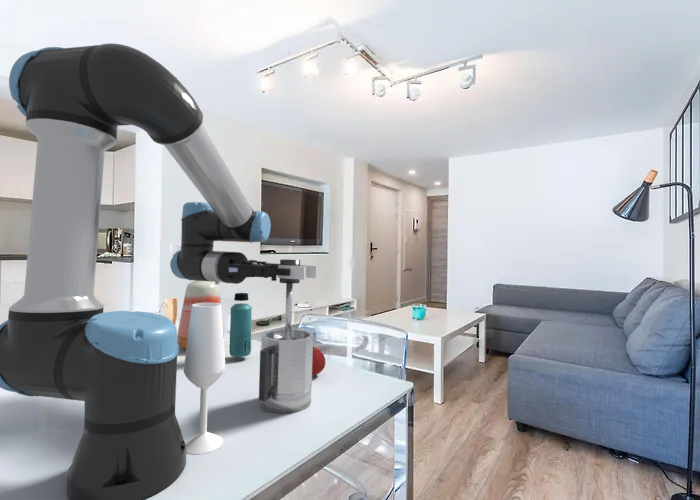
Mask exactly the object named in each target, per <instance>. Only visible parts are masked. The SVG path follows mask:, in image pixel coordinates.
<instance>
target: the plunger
mask: <svg viewBox="0 0 700 500" xmlns="http://www.w3.org/2000/svg"><path fill="white" fill-rule="evenodd" d="M279 264H280V265H286V266H300V265H301V260H300V259H287V258H286V259H285V258H284V259H279ZM300 280H301V279H287V278H279V283H280V284H286V286H285V287H286V288H285V313H284V314H285V318H284V329H285V340H291V329H292V323H293V322H292V321H293V293H294V292H293V291H294V290H293V287H294V284H300V282H301V281H300Z"/></svg>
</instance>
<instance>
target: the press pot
mask: <svg viewBox="0 0 700 500" xmlns="http://www.w3.org/2000/svg"><path fill="white" fill-rule="evenodd" d="M260 345H261V349H260V351H259V352H260V353H259V377H258V378H259V383H258V401H259V402H260V403H259V404H260V407H261V408H262V409H263V410H265V411H266V412H270V413H274V414H293V413H298V412H301V411H303V410H306V409H307V408H309V407H310V405H311V404H312V383H313V382H312V381H313V375H312V358H313V347H314V333H313V332H311V331H308V330H304V329H297V328H295V329H294V328H291V340H285V328H282V329H273V330H269V331H266V332H263V333H262V335H261V344H260Z"/></svg>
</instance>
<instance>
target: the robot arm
mask: <svg viewBox="0 0 700 500" xmlns="http://www.w3.org/2000/svg"><path fill="white" fill-rule="evenodd" d="M10 69H11V70H10V72H9V77H8V88H9V92H10V96H11V98H12V100H13V101H15V102H16V103H17V105H16V107H17V109H18V110H19V112H20V113H21V114H22V115H23V116H24V117H25V127H26V128H27V130H29V131H30V132H31V133H32V135H34V136H35V138H36V139H37V144H36V153H35V154H36V155H35V167H34V179H33V190H32V199H31V200H32V201H31V212H30V223H29V235H28V236H29V237H28V246H27V258H26V267H25V269H26V270H25V278H24V279H25V281H24V291H23V296H22V297H21V298H20V299H18V300H17V301H16V302H14V303H13V304H12V305H10V306H9V309H8V318H7V319H6V320H5V321H3V322H2V323H1V324H0V388H1V389H2V390H5V391H7V392H8V391H9V392H13V393H17V394H18V395H22V396H25V397H44V398H45V397H46V398H52V399H62V400H71V401H79V402H80V401H81V402H84V416H83V417H84V418H83V420H84V421H83V432H82V435H81V438H80V439H79V442H78V444H77V448H76V450H75V453H74V456H73V458H72V462H71V463H70V466H69V468H68V471H67V475H66V495H67V497H68V499H69V500H143V499H146V498H148V497H150V496H153V495H155V494H157V493H159V492H160V491H162V490H165V489H166V488H167V487H168V486H170V485H172V484H173V483H174V482H175V481H177V479H179V477H180V476H181V474H183V472H184V470H185V467H186V465H187V453H186V445H185V440H184V438H183V434H182V431H181V427H180V424H179V421H178V419H177V415H176V396H177V376H178V375H177V372H178V354H179V348H180V346H179V345H178V343H177V334H178V329H177V327H176V325H175V323H174V322H173V321H172V320H171V319H170V318H168V317H167V316H164V315H161V314H158V313H153V312H148V311H129V310H114V311H113V310H112V311H106V312H104V303H102V302H101V301H100V300H98V299H97V297H96V296H95V294H94V292H95V291H94V290H95V282H96V281H95V279H96V270H97V269H96V267H97V266H96V265H97V254H98V244H99V242H98V241H99V227H100V215H101V213H100V212H101V201H102V190H103V178H104V165H105V164H104V163H105V153H106V151H108V150H110V149H111V148H112V147H114V146H116V145H117V142H118V141H117V140H118V139H117V137H118V127H120V126H134V127H137V128H140V129H141V130H143V131H145V132H146V134H147V136H148V137H150V139H151V140H152V141H153V142H154V143H155V144H157V145H161V146H164V147H165V148H166V150H167V151H168V153H169V154H170V156H172V158H173V159H174V161H176V163H177V164H178V165H179V167H180V169H182V171H183V172H184V173H185V175H186V176H187V178H188V179H189V180H190V182H191V183H192V184H193V185H194V187H195V188H196V190H197V191H198V192H199V193H200V195H201V196H202V197H203V199H205V202H202V201H201V202H198V201H188V202H185V203H184V204H183V206H182V212H181V213H182V215H181V219H180V222H181V235H180V236H181V238H180V239H181V242H180V243H181V246H180V250H177V251H176V252H175V253H173V255H172V257H171V259H170V265H169V266H170V270H171V273H173V275H174V276H175V277H177V278H179V279H182V280H183V279H184V280H188V281H210V282H215V284H216V285H218V286H219V285H220V283H225V284H234V285H236V284H237V285H238V284H241V283H242V282H244V281H245V280H246V279H247V278H264V279H268V278H271V281H272V282H277V279H280V278H287V279H300V280H302V281H303V280H306V279H310V278H311V279H318V278H319V277H318V274H319V272H318V271H319V269H318V268H319V266H318V265H311V264H310V265H307V264H300V266H286V265H280V263H275V262H274V263H272V262H270V263H269V262H268V261H258V260H256V259H248V258H247V256H246V254H244V253H243V252H239V251H224V250H223V251H222V250H214V242H233V243H234V242H235V243H238V242H239V243H250V244H252V243H263V242H266V241H267V240H268V239H269V236H270V233H271V227H272V224H271V219H270V217H269V214H268V213H267V212H266V211H265V212H264V211H259V210H254V209H253V207H252V206H251V204H250V203H249V201H248V199H247V197H246V196H245V193H243V191H242V189H241V187H240V186H239V184H238V182H237V181H236V179H235V176H233V174H232V172H231V171H230V169H229V167H228V165H227V164H226V162H225V160H224V159H223V156H222V155H221V154H220V152H219V151H218V149H217V147H216V145H215V143H214V142H213V140H212V139H211V137H210V135H209V133H208V132H207V130H206V129H205V126H204V125H203V124H204V121H205V119H204V114H203V112H202V110H201V109H200V107H199V105H198V103H197V102H196V100H195V98H194V97H193V95H192V94H191V93H190V91H189V90H188V89H187V88H186V87H185V86H184V85H183V84H182V82H181V81H180V80H179V79H178V78H177V77H176V76H175V75H174V74H173V73H172V72H170V70H168V69H167V68H166V67H165V66H164V65H162V63H160V62H159V61H157V60H156V59H154V58H153V57H151V56H150V55H148V54H147V53H144V52H143V51H142V50H141V51H140V50H139V49H136V48H134V47H132V46H129V45H125V44H120V43H102V44H95V45H86V46H73V47H60V46H48V47H43V48H40V49H38V50H32V51H29V52H27V53H24V54H22V55H21V56H20V57H18V59H17V60H15V62H14V63H13V65H12V67H11V68H10Z"/></svg>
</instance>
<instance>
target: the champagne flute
mask: <svg viewBox="0 0 700 500" xmlns="http://www.w3.org/2000/svg"><path fill="white" fill-rule="evenodd" d="M222 318H223V310H222V303H221V304H220V303H197V304H193V305H192V308H191V316H190V324H189V332H188V339H187V347H186V350H185V356H184V365H183V373H184V376H185V377H186V379H188V381H189V382H190V383H192V384H193V385H194V386H195V387H197V388H199V389H200V398H199V400H200V402H199V403H200V404H199V432H198V433H196V434H194V435H193V436H191V437H189V438H188V439H186V440H184V442H185V445H186V454H189V455H203V454H208V453H211V452H214V451H215V450H217V449H219V448H220V447H221V446H222V445H223V442H224V439H223V437H221V436H220V435H218V434H215V433H212V432H209V431H208V428H207V427H208V403H209V402H208V397H209V396H208V393H209V392H208V391H209V387H211V386H213V385H214V384H215V383H216V382H217V381H218V380H219V379H220V378H221V377H222V375H223V373H224V371H225V369H226V357H225V356H226V355H225V342H224V341H225V340H224V339H225V337H224V338H223V328H224V322H223V323H222Z"/></svg>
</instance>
